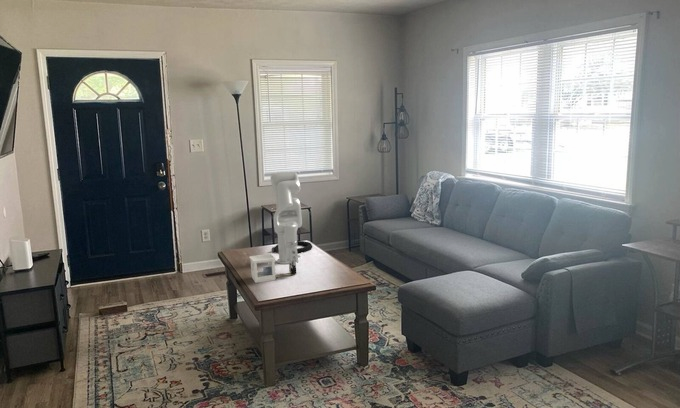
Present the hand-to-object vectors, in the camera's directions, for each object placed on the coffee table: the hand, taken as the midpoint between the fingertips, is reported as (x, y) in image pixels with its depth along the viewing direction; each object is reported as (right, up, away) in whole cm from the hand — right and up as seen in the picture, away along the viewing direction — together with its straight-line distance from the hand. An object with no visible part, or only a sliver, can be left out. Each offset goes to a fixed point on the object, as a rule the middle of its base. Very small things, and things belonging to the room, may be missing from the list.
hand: (292, 272), depth 321 cm
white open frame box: (-17, -3, -6) cm, 18 cm away
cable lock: (-6, +9, +61) cm, 62 cm away
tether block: (-7, -2, -2) cm, 8 cm away
